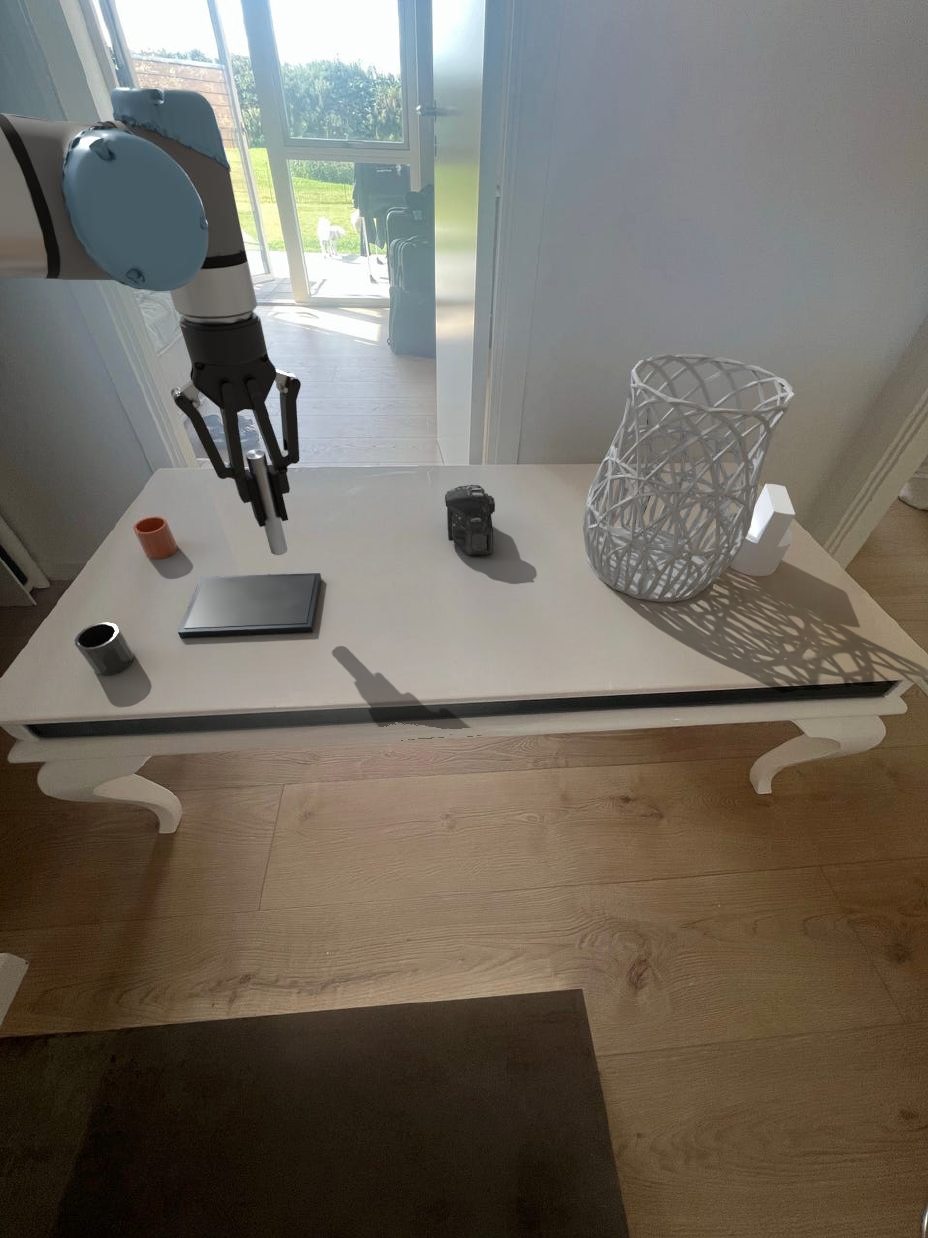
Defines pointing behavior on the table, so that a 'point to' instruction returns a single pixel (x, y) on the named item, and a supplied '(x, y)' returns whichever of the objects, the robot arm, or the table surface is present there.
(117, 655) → the pen stand
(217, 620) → the tablet
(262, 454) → the silver metal rod
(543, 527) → the table surface
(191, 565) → the table surface
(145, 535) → the pen cup
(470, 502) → the camera
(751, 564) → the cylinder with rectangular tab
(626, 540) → the vase
